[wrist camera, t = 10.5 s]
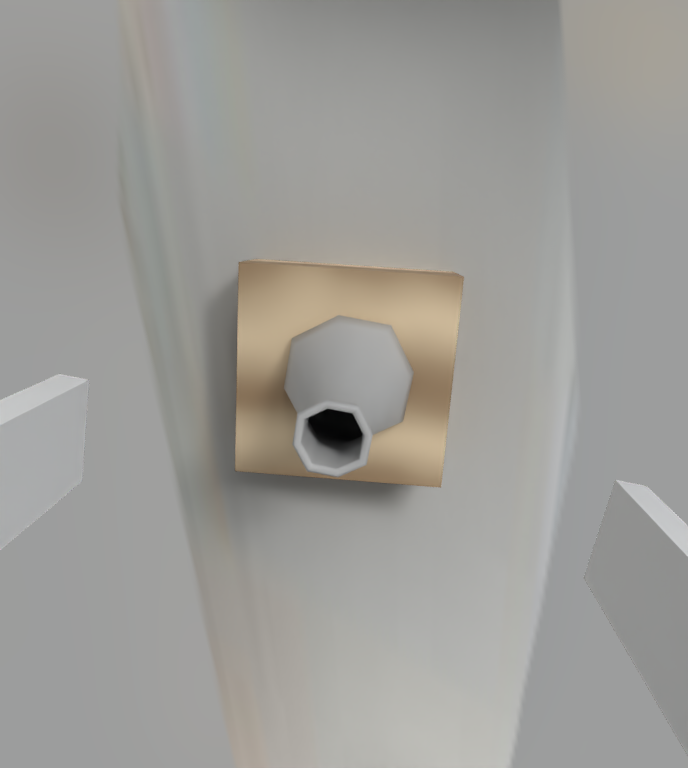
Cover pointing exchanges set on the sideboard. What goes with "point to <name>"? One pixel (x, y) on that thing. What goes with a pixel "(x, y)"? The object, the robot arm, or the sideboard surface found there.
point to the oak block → (356, 300)
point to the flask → (345, 391)
